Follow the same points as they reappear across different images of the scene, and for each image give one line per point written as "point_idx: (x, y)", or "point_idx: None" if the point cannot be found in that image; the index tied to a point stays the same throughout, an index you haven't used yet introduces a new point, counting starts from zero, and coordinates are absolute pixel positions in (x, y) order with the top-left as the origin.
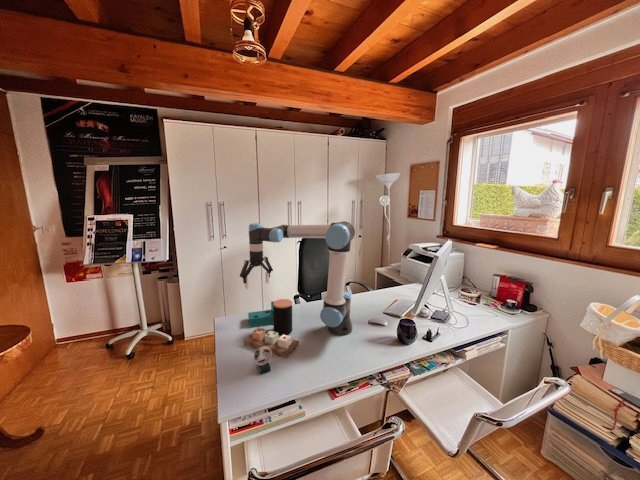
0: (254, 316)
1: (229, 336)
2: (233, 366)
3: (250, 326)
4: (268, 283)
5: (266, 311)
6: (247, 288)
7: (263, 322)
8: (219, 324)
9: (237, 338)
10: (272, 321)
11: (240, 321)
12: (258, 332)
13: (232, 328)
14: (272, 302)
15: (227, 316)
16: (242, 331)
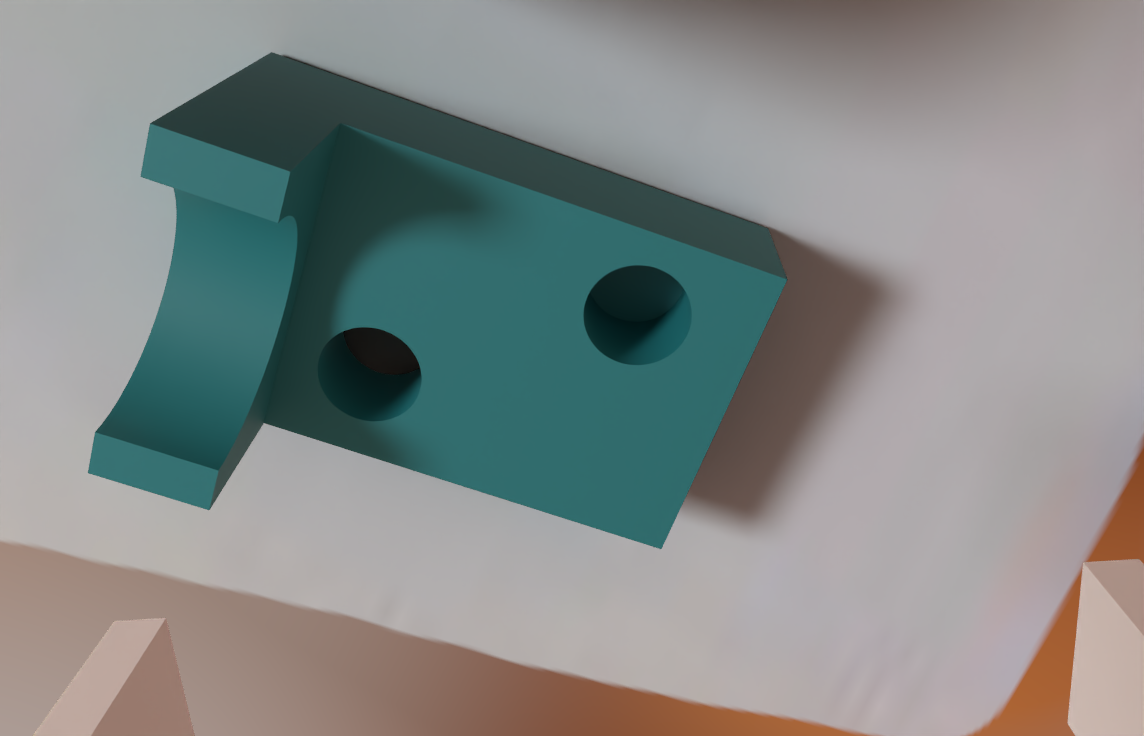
0: (638, 359)
1: (1132, 171)
2: None
3: (756, 228)
4: (141, 621)
5: (367, 418)
6: (1128, 571)
7: (546, 166)
8: (1067, 582)
9: (1071, 36)
10: (391, 108)
11: (786, 495)
12: None
13: (980, 369)
14: (197, 461)
15: (869, 728)
16: (906, 193)
